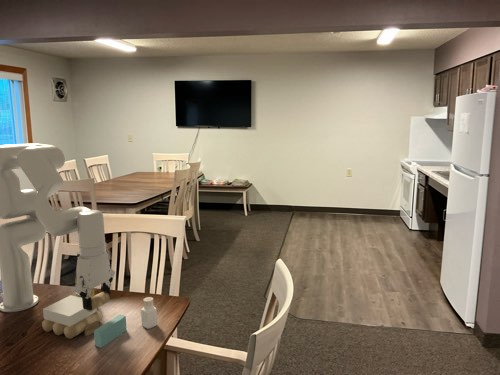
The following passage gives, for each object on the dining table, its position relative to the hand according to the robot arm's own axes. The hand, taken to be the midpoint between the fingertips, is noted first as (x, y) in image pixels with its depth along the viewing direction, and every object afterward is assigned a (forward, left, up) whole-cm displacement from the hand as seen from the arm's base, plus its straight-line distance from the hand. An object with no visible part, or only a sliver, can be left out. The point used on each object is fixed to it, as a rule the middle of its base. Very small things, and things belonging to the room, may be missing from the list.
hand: (97, 303), depth 125 cm
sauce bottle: (-21, +14, -11) cm, 27 cm away
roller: (0, 0, -1) cm, 1 cm away
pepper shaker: (+11, +11, -11) cm, 19 cm away
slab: (-12, 0, -7) cm, 14 cm away
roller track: (-8, 0, -11) cm, 13 cm away
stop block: (+5, 0, -11) cm, 12 cm away
